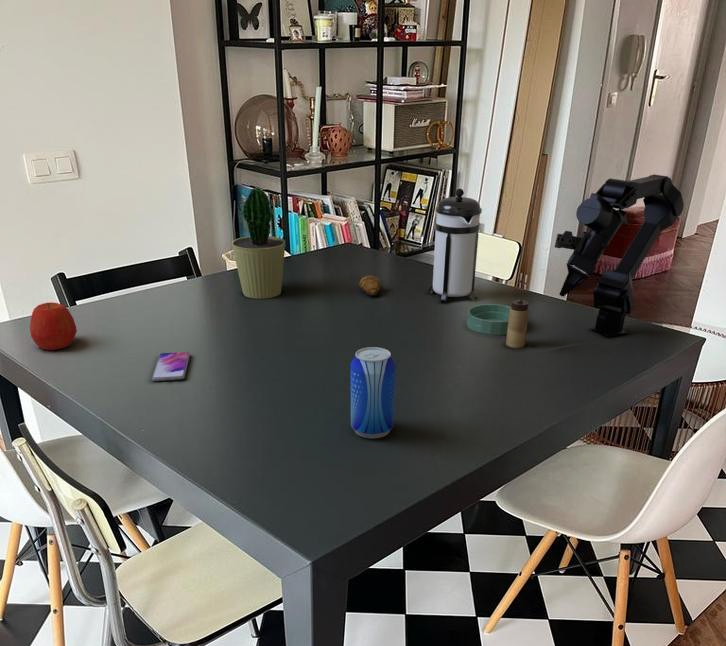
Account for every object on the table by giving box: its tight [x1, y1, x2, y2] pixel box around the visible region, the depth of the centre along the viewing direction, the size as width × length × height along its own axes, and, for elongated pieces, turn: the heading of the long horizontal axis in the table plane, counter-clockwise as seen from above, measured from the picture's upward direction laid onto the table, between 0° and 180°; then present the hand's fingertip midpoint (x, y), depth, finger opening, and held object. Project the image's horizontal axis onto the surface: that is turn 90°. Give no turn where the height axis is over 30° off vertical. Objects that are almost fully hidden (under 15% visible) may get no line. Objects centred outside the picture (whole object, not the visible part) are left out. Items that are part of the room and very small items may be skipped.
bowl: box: [466, 303, 511, 336], centre depth 193 cm, size 14×14×4 cm
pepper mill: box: [505, 298, 530, 349], centre depth 179 cm, size 5×5×12 cm
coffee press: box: [428, 188, 483, 304], centre depth 209 cm, size 17×16×30 cm
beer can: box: [350, 346, 396, 439], centre depth 140 cm, size 8×8×16 cm
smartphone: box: [151, 351, 191, 382], centre depth 169 cm, size 7×1×15 cm
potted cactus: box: [231, 186, 286, 300], centre depth 210 cm, size 15×15×30 cm
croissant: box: [358, 274, 382, 298], centre depth 218 cm, size 14×7×5 cm, turn 10°
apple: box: [29, 301, 78, 351], centre depth 179 cm, size 11×11×11 cm
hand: (561, 294), depth 177 cm, fingers open, 9 cm apart
